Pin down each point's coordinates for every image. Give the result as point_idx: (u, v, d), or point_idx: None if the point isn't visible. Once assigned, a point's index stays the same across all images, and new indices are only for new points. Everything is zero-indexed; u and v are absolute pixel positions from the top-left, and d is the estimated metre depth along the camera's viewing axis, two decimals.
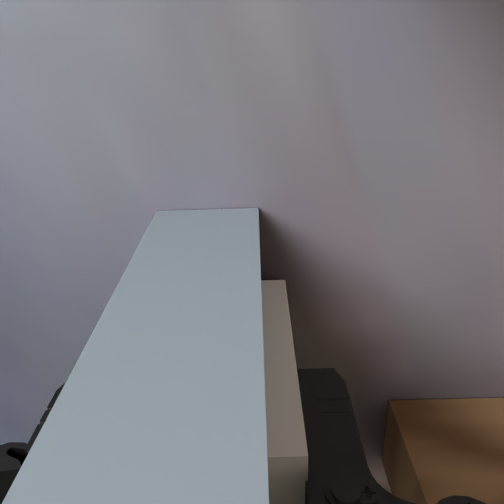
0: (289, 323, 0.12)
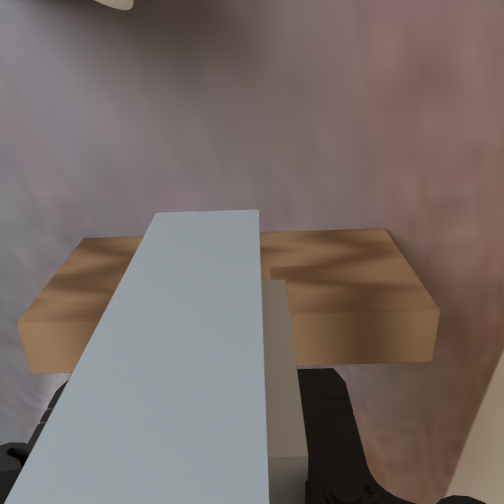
0: (289, 323, 0.12)
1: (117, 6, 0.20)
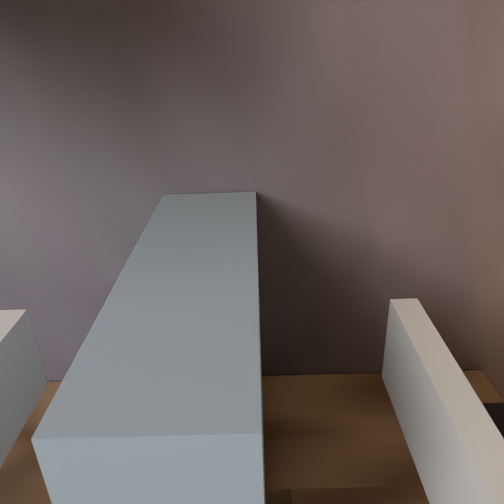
0: (448, 350, 0.11)
1: None
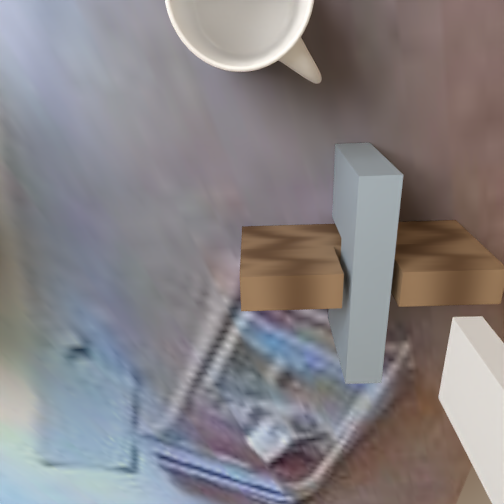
0: None
1: (318, 82, 0.33)
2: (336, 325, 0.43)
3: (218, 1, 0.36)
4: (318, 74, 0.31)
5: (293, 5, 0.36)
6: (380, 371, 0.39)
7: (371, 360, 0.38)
